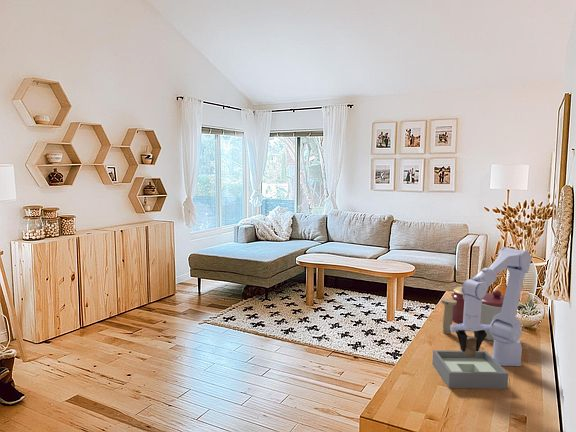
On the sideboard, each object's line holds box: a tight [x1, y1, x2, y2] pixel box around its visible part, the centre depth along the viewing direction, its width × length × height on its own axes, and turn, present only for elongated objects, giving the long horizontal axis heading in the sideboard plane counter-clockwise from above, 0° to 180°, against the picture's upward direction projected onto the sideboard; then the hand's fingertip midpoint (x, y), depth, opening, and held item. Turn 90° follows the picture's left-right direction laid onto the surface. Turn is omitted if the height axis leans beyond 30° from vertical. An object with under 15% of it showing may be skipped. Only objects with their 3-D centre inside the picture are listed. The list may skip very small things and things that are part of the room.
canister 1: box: [450, 285, 464, 324], centre depth 223 cm, size 13×13×18 cm
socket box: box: [431, 349, 509, 390], centre depth 167 cm, size 20×18×6 cm
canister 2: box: [480, 289, 521, 342], centre depth 202 cm, size 18×18×21 cm
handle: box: [440, 297, 457, 335], centre depth 206 cm, size 5×6×15 cm
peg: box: [463, 335, 477, 357], centre depth 166 cm, size 4×4×6 cm
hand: (469, 350), depth 166 cm, fingers closed on peg, 4 cm apart
